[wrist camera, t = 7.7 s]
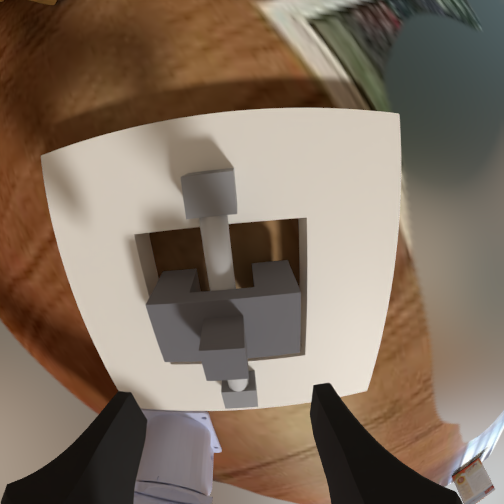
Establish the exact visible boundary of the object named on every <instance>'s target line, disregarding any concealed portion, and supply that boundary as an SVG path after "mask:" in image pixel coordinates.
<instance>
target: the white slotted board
mask: <svg viewBox="0 0 504 504" xmlns="http://www.w3.org/2000/svg"><path fill="white" fill-rule="evenodd" d="M41 163H42V170H43V177H44V184H45V190H46V195H47V201H48V206H49V211H50V215H51V220H52V224H53V228H54V233H55V236H56V240H57V244H58V248H59V251H60V255H61V258H62V261H63V265H64V268H65V271H66V274H67V277H68V280H69V283H70V286H71V289H72V292H73V294H74V297H75V300H76V302H77V305H78V308H79V310H80V313H81V315H82V317H83V320H84V322H85V325H86V327H87V329H88V332H89V334H90V336H91V338H92V340H93V343H94V345H95V347H96V349H97V351H98V353H99V355H100V357H101V359H102V361H103V363H104V365H105V367H106V369H107V371H108V373H109V375H110V376H111V378H112V380H113V382H114V384H115V386H116V387H117V389H118V391H123V392H131V393H132V395H133V396H134V398H135V400H136V402H137V403H138V405H139V407H140V408H143V409H156V410H177V411H223V410H244V409H258V408H269V407H278V406H287V405H295V404H302V403H308V402H311V401H312V392H313V385H317V384H323V383H330V384H331V385H332V386H333V388H334V389H335V391H336V392H337V394H338V395H339V397H342V396H346V395H351V394H355V393H360V392H364V391H367V389H368V386H369V383H370V379H371V376H372V372H373V369H374V365H375V362H376V358H377V354H378V350H379V346H380V342H381V337H382V333H383V329H384V324H385V319H386V314H387V309H388V304H389V298H390V292H391V286H392V280H393V273H394V266H395V258H396V250H397V240H398V229H399V216H400V198H401V136H400V118H399V114H397V113H389V112H380V111H369V110H357V109H340V108H271V109H253V110H240V111H229V112H220V113H211V114H204V115H196V116H190V117H183V118H177V119H171V120H166V121H161V122H156V123H151V124H146V125H141V126H137V127H132V128H128V129H124V130H120V131H116V132H112V133H109V134H105V135H101V136H98V137H94V138H91V139H88V140H84V141H81V142H78V143H75V144H72V145H69V146H66V147H63V148H60V149H57V150H55V151H52V152H49V153H47V154H44V155H41ZM294 218H298V223H299V271H300V291H301V333H300V353H293V354H285V355H277V356H268V357H258V358H248V372H249V379H237V380H221V381H207V380H206V376H205V373H204V369H203V366H202V362H201V361H197V362H164V359H163V356H162V354H161V351H160V348H159V345H158V342H157V339H156V336H155V334H154V331H153V327H152V324H151V321H150V318H149V315H148V312H147V308H146V303H147V301H148V299H149V297H150V295H151V293H152V291H153V289H154V287H155V286H156V284H157V282H158V280H159V277H158V273H157V268H156V264H155V260H154V255H153V250H152V246H151V241H150V236H149V233H150V232H159V231H167V230H176V229H185V228H195V227H200V229H201V236H202V243H203V249H204V256H205V262H206V269H207V275H208V281H209V287H210V291H216V290H228V289H236V285H235V277H234V269H233V260H232V252H231V243H230V234H229V225H228V224H235V223H246V222H257V221H269V220H281V219H294Z"/></svg>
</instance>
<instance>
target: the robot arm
mask: <svg viewBox="0 0 504 504" xmlns="http://www.w3.org/2000/svg"><path fill="white" fill-rule="evenodd" d="M310 418H311V424H312V429H313V435H314V439H315V442H316V445H317V449H318V452H319V455H320V459H321V462H322V465H323V468H324V472H325V475H326V478H327V482H328V486H329V492H330V498H331V504H462V501H461V499H460V498H459V496H458V494H457V493H456V492H455V491H453V490H450V489H448V488H445V487H443V486H441V485H439V484H437V483H435V482H433V481H431V480H429V479H427V478H425V477H423V476H422V475H420V474H419V473H417V472H415V471H414V470H412V469H411V468H409V467H408V466H406V465H405V464H403V463H402V462H401V461H399V460H398V459H397V458H396V457H394V456H393V455H392V454H391V453H390V452H388V451H387V450H386V449H385V448H384V447H383V446H382V445H380V444H379V443H378V442H377V441H376V440H375V439H374V438H373V437H372V436H371V435H370V434H369V433H368V431H367V430H366V429H365V428H364V427H363V426H362V425H361V424H360V422H359V421H358V420H357V419H356V418H355V417H354V415H353V414H352V413H351V412H350V410H349V409H348V408H347V406H346V405H345V404H344V402H343V401H342V400H341V398H340V397H339V395H338V394H337V392H336V391H335V389H334V388H333V386H332V385H331V384H330V383H323V384H317V385H313V392H312V401H311V409H310ZM221 451H222V448H221V446H220V443H219V441H218V438H217V436H216V433H215V430H214V427H213V425H212V422H211V419H210V416H209V414H208V412H207V411H177V410H156V409H143V408H140V407H139V405H138V403H137V402H136V400H135V398H134V396H133V395H132V393H131V392H123V391H118V392H117V394H116V395H115V396H114V397H113V398H112V399H111V401H110V402H109V403H108V404H107V405H106V407H105V408H104V409H103V410H102V412H101V413H100V414H99V415H98V416H97V417H96V419H95V420H94V421H93V422H92V423H91V424H90V426H89V427H88V428H87V429H86V430H85V431H84V432H83V433H82V435H80V437H79V438H78V439H77V440H76V441H75V442H74V443H73V444H72V445H71V446H70V447H68V448H67V449H66V450H65V451H64V452H63V453H62V454H60V455H59V456H58V457H57V458H55V459H54V460H53V461H51V462H50V463H48V464H47V465H45V466H44V467H43V468H41V469H39V470H38V471H36V472H34V473H33V474H30V475H28V476H27V477H24V478H22V479H20V480H17V481H15V482H12V483H10V484H7V486H6V489H5V492H4V495H3V497H2V500H1V504H212V498H213V497H210V496H209V495H210V493H211V490H212V478H213V455H214V453H219V452H221Z"/></svg>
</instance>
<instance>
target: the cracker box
mask: <svg viewBox="0 0 504 504" xmlns="http://www.w3.org/2000/svg"><path fill="white" fill-rule="evenodd" d="M452 478H453V481H454V483H455V485H456V487H457V489H458V492H459V494H460V496H461V498H462V501H463V503H464V504H476V503H477V502H479V501H480V500H481V499H483V498H484V497H485V496H487V495H488V494H490V493H491V492H492V491H494V490H495V489H494V486H493V484H492V482H491V480H490V478H489V476H488V474H487V472H486V470H485V468H484V466H483V465H482V463H481V461H480V459H479V458H478V459H476V460H475V461H474V462H472V463H471V464H470V465H468V466H467V467H466V468H464V469H463V470H461V471H460V472H458V473H457V474H455V475H454V476H452Z"/></svg>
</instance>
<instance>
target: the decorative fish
mask: <svg viewBox="0 0 504 504" xmlns="http://www.w3.org/2000/svg"><path fill="white" fill-rule="evenodd" d="M3 1H5V0H0V2H3ZM29 1H33V2H38V3H42V4H46V5H55V3H56V2H57V1H58V0H29Z"/></svg>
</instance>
